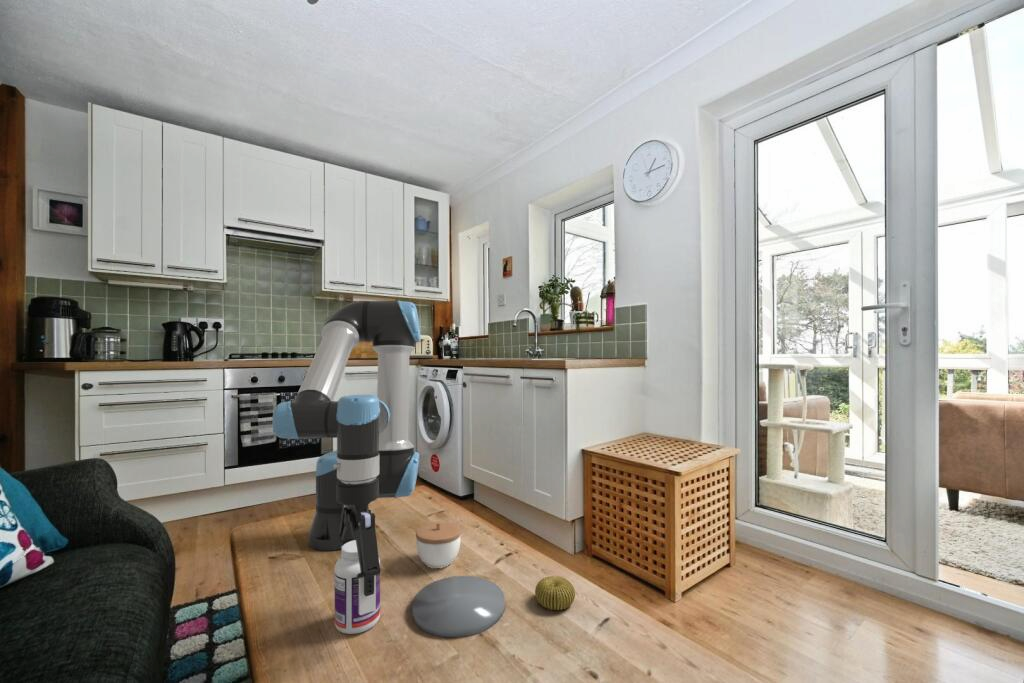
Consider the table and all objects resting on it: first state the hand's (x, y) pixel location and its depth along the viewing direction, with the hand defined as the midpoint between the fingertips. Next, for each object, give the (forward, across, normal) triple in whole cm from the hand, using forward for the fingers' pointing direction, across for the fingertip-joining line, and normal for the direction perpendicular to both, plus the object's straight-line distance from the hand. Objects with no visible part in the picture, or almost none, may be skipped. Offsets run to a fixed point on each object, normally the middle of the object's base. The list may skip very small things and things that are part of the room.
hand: (357, 593), depth 81 cm
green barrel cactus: (+6, +15, +35) cm, 38 cm away
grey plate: (+6, +6, +18) cm, 20 cm away
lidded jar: (+6, -13, +22) cm, 27 cm away
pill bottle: (+6, 0, 0) cm, 6 cm away
